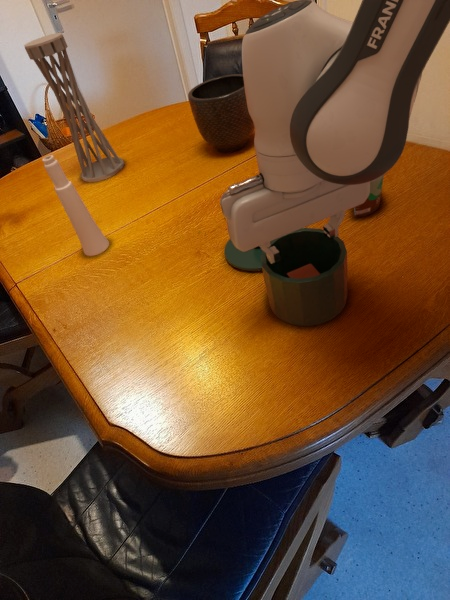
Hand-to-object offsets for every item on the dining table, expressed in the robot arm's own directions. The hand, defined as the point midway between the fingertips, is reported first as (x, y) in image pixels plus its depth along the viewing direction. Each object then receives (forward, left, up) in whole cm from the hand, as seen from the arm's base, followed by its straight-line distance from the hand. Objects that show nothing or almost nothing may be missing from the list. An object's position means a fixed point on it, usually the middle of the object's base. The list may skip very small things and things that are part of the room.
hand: (302, 248), depth 60 cm
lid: (+7, -15, -10) cm, 19 cm away
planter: (+12, -65, -11) cm, 67 cm away
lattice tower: (+52, -67, -11) cm, 85 cm away
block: (0, 0, -10) cm, 10 cm away
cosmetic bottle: (+44, -26, -11) cm, 52 cm away
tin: (0, 0, -10) cm, 10 cm away
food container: (-16, -24, -11) cm, 31 cm away
